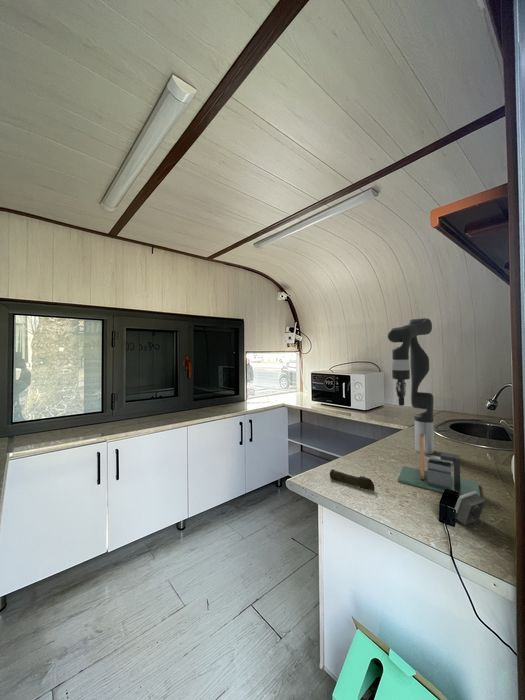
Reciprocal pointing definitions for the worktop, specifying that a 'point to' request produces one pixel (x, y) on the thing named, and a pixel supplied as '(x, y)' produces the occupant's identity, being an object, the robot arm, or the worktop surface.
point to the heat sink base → (439, 476)
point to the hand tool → (353, 480)
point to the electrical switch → (469, 507)
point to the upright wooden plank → (426, 457)
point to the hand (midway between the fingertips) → (401, 405)
